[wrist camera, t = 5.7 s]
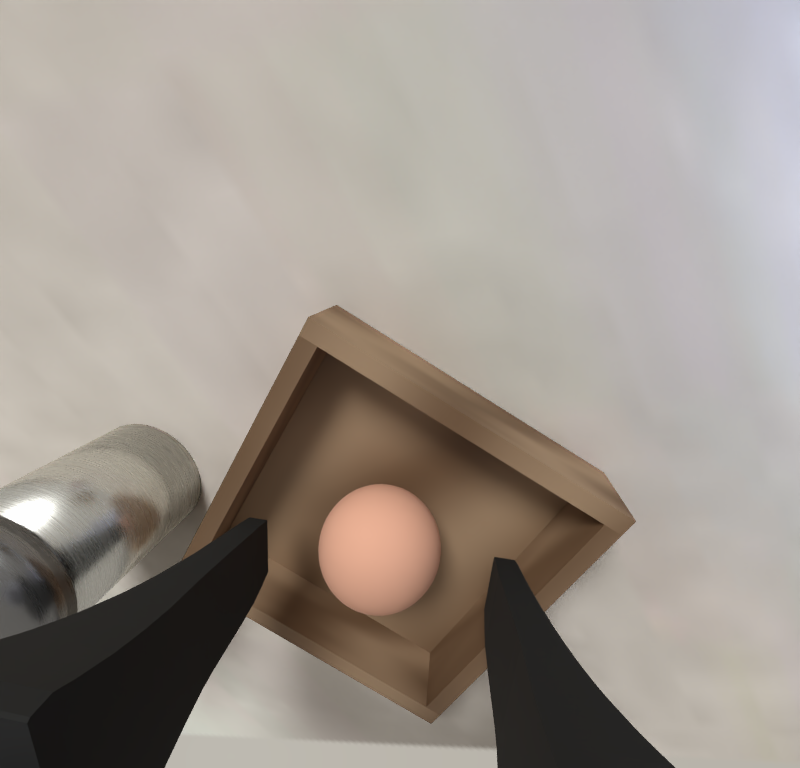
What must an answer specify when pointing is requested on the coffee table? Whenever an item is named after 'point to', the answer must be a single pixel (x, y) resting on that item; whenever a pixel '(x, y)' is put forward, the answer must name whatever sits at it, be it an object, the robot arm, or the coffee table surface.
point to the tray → (422, 476)
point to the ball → (379, 549)
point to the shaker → (88, 522)
